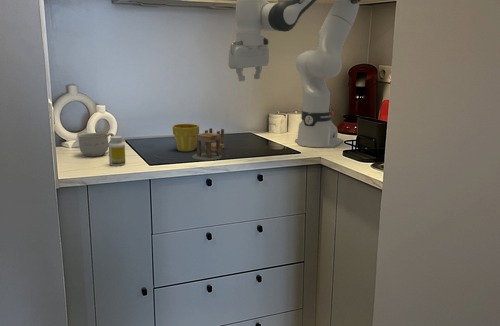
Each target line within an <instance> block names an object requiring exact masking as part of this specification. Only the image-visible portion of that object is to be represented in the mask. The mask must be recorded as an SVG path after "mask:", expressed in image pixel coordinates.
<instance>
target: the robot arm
mask: <svg viewBox="0 0 500 326" xmlns="http://www.w3.org/2000/svg"><path fill="white" fill-rule="evenodd" d="M360 1H362V0H334V3H333V5H332V6H331V8H330V9H329V11H328V13H327V15H326V17H325V20H324V21H323V23H322V25H321V28H320V30H319V31H318V37H319V42H318V45H317V47H316V50H311V49H310V50H306V51H304V52H302V53H300V54H298V56H297V58H296V60H295V66H296V69H297V71H298V74H299V75H300V77H299V78H300V82H301V86H302V99H303V100H302V111H301V113H300V114H301V115H300V116H301V117H300V119H301V122H299V124H298V129H297V138H296V139H295V140H294V143H297V145H299V146H303V147H308V148H336V147H337V146H338V145H339V144H341V143H343V141H344V139H343V138H339V137H338V134H339V133H338V132H339V131H338V127H337V126H336V125H335V124H334V123H333V121H332V117H333V116H334V114H335V113H334V111H330V108H331V107H330V106H331V105H330V103H331V92H330V90H329V89H328V86H327V82H326V80H328V79H331V78H334V77H337V76H338V75H339V74H340V73H341V72H342V71H341V70H342V68H343V61H342V59H341V58H342V57H341V56H342V52H343V51H342V50H343V47H344V44H345V42H346V39H347V38H348V35H349V34H350V31H351V29H352V28H353V25H354V23H355V20H356V17H357V15H358V12H359V9H360V4H359V3H360ZM316 2H317V0H283V1H278V2H277V1H276V2H269V1H267V0H236V2H235V3H236V4H235V22H236V31H235V33H236V35H235V36H236V37H235V38H236V41H233V42H232V43H231V44H230V46H229V47H230V48H229V50H228V67H229V69H231V70H235V73H236V75H237V76H238V82H245V80H246V77H245V75H244V74H243V72H244V69H249V68H255V73H253V78H254V80H260V79H261V73H262V71H263V67H264V66H268V65H269V62H270V48H269V45H270V40H269V38H267V37H265V36H263V35H262V31H263V32H283V33H284V32H290V31H291V30H292V29H294V27H295V26H296V25H297V23H298V21H299V19H300V18H301V16H302V15H303V14H304V13H305V12H306V11H307V10H308V9H309V8H310V7H311V6H312V5H314V3H316Z"/></svg>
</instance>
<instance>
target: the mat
mask: <svg viewBox="0 0 500 326" xmlns="http://www.w3.org/2000/svg"><path fill="white" fill-rule="evenodd" d="M191 157H192V159H194V160H196V161H204V162H205V161H217V159H218V160H220V159H222V158H223V157H222V154H220V156H216V152H215V153H214V152H211V158H208V154H206V152H201V156H197V153H195V154H193V155H192V156H191Z"/></svg>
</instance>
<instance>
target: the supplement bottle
mask: <svg viewBox="0 0 500 326" xmlns="http://www.w3.org/2000/svg"><path fill="white" fill-rule="evenodd" d="M109 137H110V141H111V143H110V144H109V147H108V159H109V160H108V161H109V165H110V166H111V167H119V166H125V165H126V145H125V143H124V142H123V136H121V135H114V136H112V137H111V136H109Z"/></svg>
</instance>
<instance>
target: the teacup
mask: <svg viewBox="0 0 500 326" xmlns="http://www.w3.org/2000/svg"><path fill="white" fill-rule="evenodd" d="M112 136H115V134H113V133H112V132H108V133H106V132H91V133H83V134H78V136H77V139H78V147H79V151H80V152H81V153H82V154H83V155H84V156H86V157H99V156H104V155H105V154H106V152H107V151H109V144H110V143H111V140H110V141H109V137H112Z"/></svg>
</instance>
